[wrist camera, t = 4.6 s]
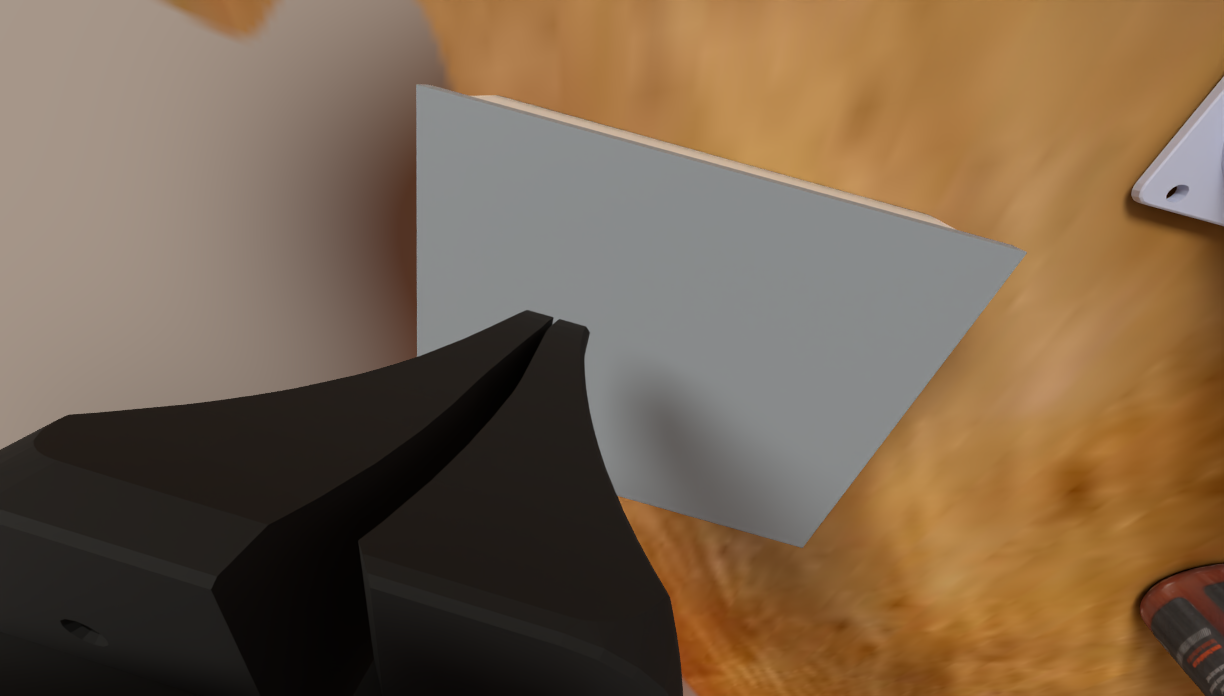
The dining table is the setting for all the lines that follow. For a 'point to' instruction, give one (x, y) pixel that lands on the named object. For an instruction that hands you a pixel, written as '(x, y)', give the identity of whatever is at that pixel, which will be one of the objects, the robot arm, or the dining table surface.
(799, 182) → the storage box
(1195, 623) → the supplement bottle
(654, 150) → the lid
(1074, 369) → the dining table surface
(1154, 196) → the robot arm
